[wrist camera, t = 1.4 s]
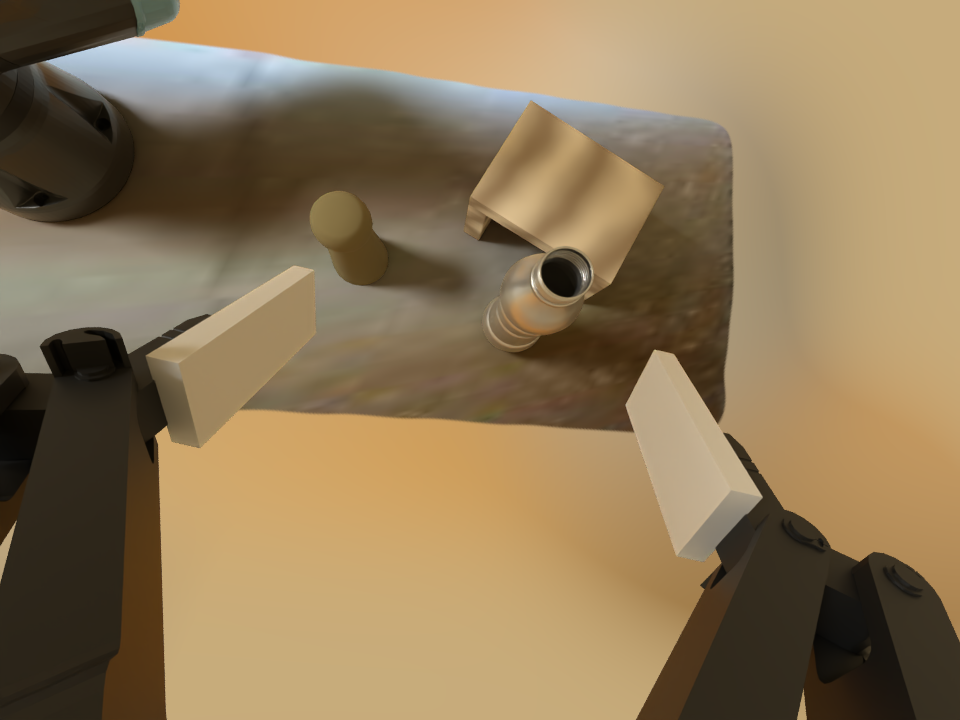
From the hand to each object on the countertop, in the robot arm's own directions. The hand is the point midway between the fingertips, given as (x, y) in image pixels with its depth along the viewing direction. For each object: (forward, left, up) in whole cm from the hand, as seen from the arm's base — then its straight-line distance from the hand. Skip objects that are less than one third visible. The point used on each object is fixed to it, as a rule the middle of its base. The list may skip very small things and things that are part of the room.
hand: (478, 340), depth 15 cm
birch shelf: (+1, +21, -29) cm, 36 cm away
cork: (-15, +6, -29) cm, 33 cm away
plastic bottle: (+3, +8, -29) cm, 30 cm away
